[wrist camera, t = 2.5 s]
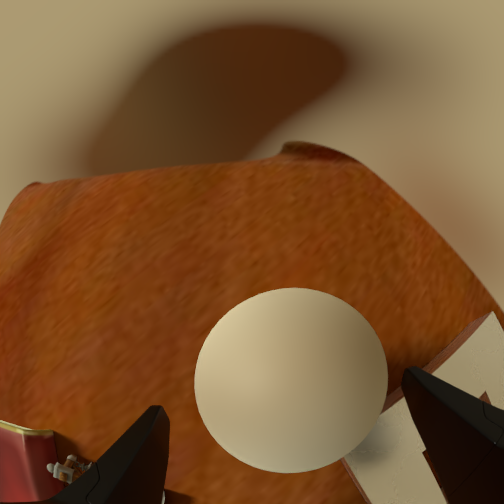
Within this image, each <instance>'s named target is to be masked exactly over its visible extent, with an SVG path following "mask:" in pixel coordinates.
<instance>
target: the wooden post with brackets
mask: <svg viewBox="0 0 504 504" xmlns="http://www.w3.org/2000/svg"><path fill="white" fill-rule="evenodd" d="M76 462H77V456H76V455H73V454H71V455H70V456H68V457H67V461H66V463H65V464H64V465H61V464H59V463H58V462H57V463H56V465H54V464H51V463H50V464H48V465H47V469H48V471H49V472H51V473H54V474H53V477H55V478H58V479H59V480H62V481H64V482H68V483H69V484H71V483H72V482H73V481H75V480H76V479H77V478H78V477H80V476H81V475H82V474H81V473H80V471H79V470H78V469H77V468H76V467H81V469H82V471H83V470H84V469H85V471H86V470H87V469H89V468H90V467H91V466H92V465H93V462H91V463H90V464H89V465H88V466H87V464H86V466H85V463H83V464H80V463H79V462H77V463H79V464H78V466H76ZM80 465H81V466H80ZM75 466H76V467H75ZM164 500H165V496H164V491H163V498H162V504H164Z"/></svg>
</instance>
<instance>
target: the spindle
mask: <svg viewBox="0 0 504 504" xmlns="http://www.w3.org/2000/svg"><path fill="white" fill-rule="evenodd" d="M387 386H388V370H387V362H386V358H385V353H384V350H383V348H382V345H381V342H380V340H379V338H378V336H377V334H376V333H375V331H374V330H373V328H372V327H371V325H370V324H369V323H368V321H367V320H366V319H365V318H364V317H363V316H362V315H361V314H360V313H359V312H358V311H357V310H355V309H354V308H353V307H352V306H350V305H349V304H347V303H346V302H344V301H342V300H341V299H338V298H336V297H334V296H332V295H330V294H327V293H323V292H320V291H316V290H311V289H303V288H284V289H278V290H272V291H268V292H265V293H261V294H258V295H256V296H254V297H251V298H249V299H247V300H245V301H244V302H242V303H240V304H239V305H237V306H236V307H234V308H233V309H232V310H230V311H229V312H228V313H227V314H226V315H225V316H224V317H223V318H222V319H221V320H220V321H219V322H218V323H217V324H216V325H215V327H214V328H213V329H212V330H211V332H210V334H209V335H208V337H207V339H206V340H205V342H204V344H203V347H202V349H201V351H200V354H199V357H198V361H197V365H196V371H195V395H196V401H197V405H198V409H199V412H200V415H201V417H202V419H203V422H204V424H205V425H206V427H207V429H208V430H209V432H210V434H211V435H212V436H213V437H214V439H215V440H216V441H217V442H218V443H219V444H220V445H221V446H222V447H223V448H224V449H225V450H226V451H227V452H228V453H230V454H231V455H233V456H234V457H236V458H237V459H239V460H240V461H242V462H244V463H246V464H248V465H251V466H253V467H256V468H259V469H262V470H267V471H272V472H280V473H297V472H305V471H310V470H315V469H318V468H321V467H324V466H327V465H329V464H331V463H333V462H335V461H337V460H339V459H341V458H342V457H344V456H345V455H347V454H348V453H350V452H351V451H352V450H353V449H354V448H356V447H357V446H358V445H359V444H360V443H361V442H362V441H363V440H364V439H365V437H366V436H367V435H368V434H369V432H370V431H371V430H372V428H373V427H374V425H375V424H376V422H377V420H378V418H379V416H380V413H381V411H382V408H383V405H384V402H385V398H386V393H387Z"/></svg>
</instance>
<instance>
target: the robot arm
mask: <svg viewBox="0 0 504 504" xmlns="http://www.w3.org/2000/svg"><path fill="white" fill-rule="evenodd" d="M401 389H402V392H403V394H404V397H405V400H406V403H407V406H408V409H409V412H410V414H411V417H412V420H413V422H414V424H415V426H416V428H417V431H418V433H419V435H420V437H421V439H422V441H423V443H424V446H425V448H426V450H427V452H428V454H429V457H430V459H431V461H432V463H433V466H434V468H435V470H436V473H437V475H438V477H439V480H440V482H441V485H442V487H443V490H444V492H445V495H446V497H447V500H448V502H449V504H504V410H502V409H500V408H497V407H495V406H493V405H491V404H489V403H487V402H485V401H482V400H481V399H479V398H477V397H475V396H473V395H471V394H469V393H467V392H465V391H463V390H461V389H459V388H457V387H455V386H453V385H451V384H449V383H447V382H445V381H443V380H441V379H440V378H438V377H436V376H434V375H432V374H430V373H428V372H426V371H424V370H422V369H420V368H419V367H417V366H412V367H409V368H406V369H405V370H404V374H403V378H402V382H401ZM169 433H170V421H169V418H168V416H167V414H166V412H165V410H164V408H163V407H162V406H160V405H152V406H150V407H149V408H148V409H147V410H146V411H145V412H144V413H143V414H142V415H141V416H140V417H139V418H138V419H137V421H136V422H135V423H134V424H133V425H132V426H131V427H130V428H129V429H128V430H127V431H126V432H125V433H124V434H123V435H122V436H121V437H120V438H119V439H118V440H117V441H116V442H115V443H114V444H113V445H112V446H111V447H110V448H109V449H108V450H107V451H106V452H105V453H104V454H103V455H102V456H101V457H100V458H99V459H98V460H97V461H96V462H95V463H94V464H93V465H92V466H91V467H90V468H89V469H87V470H86V471H85V472H84V473H83V474H82V475H81V476H80V477H78V478H77V479H76V480H75V481H73V482H72V483H71V484H69V485H68V486H67V487H65V488H64V489H63V490H61V491H60V492H59V493H57V494H56V495H54V496H53V497H51V498H49V499H46V500H42V501H31V502H0V504H162V498H163V491H164V485H165V478H166V471H167V465H168V458H169Z"/></svg>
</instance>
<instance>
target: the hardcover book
mask: <svg viewBox="0 0 504 504" xmlns="http://www.w3.org/2000/svg"><path fill="white" fill-rule="evenodd" d="M57 462H58V457H57V452H56V446H55V440H54V434H53V430H32V429H28V428H24V427H21V426H17V425H14V424H11V423H7V422H4V421H1V420H0V502H31V501H42V500H46V499H49V498H51V497H53V496H54V495H56V494H57V493H59V492H60V491H61V490H63V489H64V484H63V481H62V480H59V479H58V478H55V477H53V474H54V473H51V472H49V471H48V469H47V465H48V464H50V463H51V464H54V465H56V463H57ZM58 463H59V462H58Z"/></svg>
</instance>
